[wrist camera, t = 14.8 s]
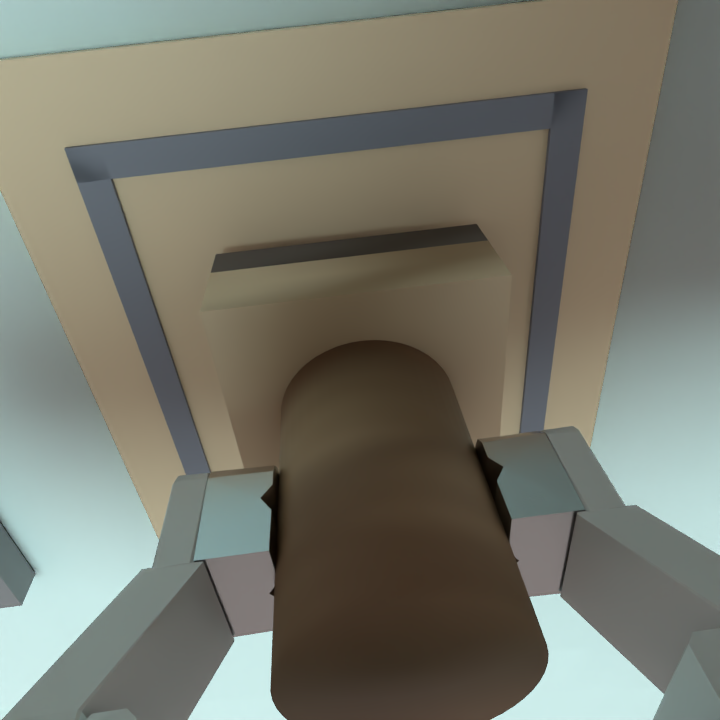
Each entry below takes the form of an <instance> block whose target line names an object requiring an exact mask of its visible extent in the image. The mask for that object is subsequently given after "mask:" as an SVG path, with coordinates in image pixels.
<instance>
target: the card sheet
mask: <svg viewBox="0 0 720 720" xmlns="http://www.w3.org/2000/svg"><path fill="white" fill-rule="evenodd" d="M677 4H678V0H535V1H526V2H516V3H507V4H498V5H489V6H480V7H471V8H462V9H453V10H443V11H434V12H425V13H416V14H407V15H398V16H389V17H379V18H370V19H361V20H352V21H343V22H334V23H325V24H316V25H306V26H297V27H288V28H279V29H270V30H261V31H252V32H243V33H233V34H224V35H215V36H206V37H197V38H188V39H179V40H169V41H160V42H151V43H142V44H133V45H124V46H115V47H106V48H96V49H87V50H78V51H69V52H60V53H51V54H42V55H32V56H23V57H14V58H5V59H0V191H1V193H2V195H3V197H4V199H5V202H6V204H7V206H8V208H9V210H10V213H11V215H12V217H13V219H14V221H15V224H16V226H17V228H18V230H19V232H20V235H21V237H22V239H23V241H24V243H25V246H26V248H27V250H28V252H29V254H30V257H31V259H32V261H33V263H34V265H35V268H36V270H37V272H38V274H39V276H40V279H41V281H42V283H43V285H44V287H45V290H46V292H47V294H48V296H49V299H50V301H51V303H52V305H53V307H54V310H55V312H56V314H57V316H58V318H59V321H60V323H61V325H62V327H63V329H64V332H65V334H66V336H67V338H68V340H69V343H70V345H71V347H72V349H73V351H74V354H75V356H76V358H77V360H78V362H79V365H80V367H81V369H82V371H83V373H84V376H85V378H86V380H87V382H88V384H89V387H90V389H91V391H92V393H93V395H94V398H95V400H96V402H97V404H98V406H99V409H100V411H101V413H102V415H103V417H104V420H105V422H106V424H107V426H108V428H109V431H110V433H111V435H112V437H113V439H114V442H115V444H116V446H117V448H118V450H119V453H120V455H121V457H122V459H123V461H124V464H125V466H126V468H127V470H128V473H129V475H130V477H131V479H132V481H133V484H134V486H135V488H136V490H137V492H138V495H139V497H140V499H141V501H142V503H143V506H144V508H145V510H146V512H147V514H148V517H149V519H150V521H151V523H152V525H153V528H154V530H155V532H156V534H157V536H158V539H159V538H160V534H161V530H162V526H163V522H164V518H165V514H166V510H167V506H168V502H169V497H170V493H171V489H172V485H173V483H174V482H175V480H176V479H177V477H178V476H181V475H192V474H202V473H211V472H214V471H224V470H234V469H244V466H243V463H242V459H241V456H240V452H239V449H238V445H237V442H236V438H235V435H234V431H233V428H232V424H231V421H230V417H229V414H228V410H227V407H226V403H225V400H224V396H223V393H222V389H221V386H220V382H219V379H218V375H217V372H216V368H215V365H214V361H213V358H212V354H211V351H210V347H209V344H208V340H207V337H206V333H205V330H204V326H203V323H202V319H201V316H200V308H201V305H202V301H203V298H204V294H205V291H206V287H207V284H208V280H209V277H210V273H211V270H212V266H213V263H214V259H215V255H216V254H222V253H230V252H239V251H248V250H256V249H265V248H273V247H282V246H291V245H299V244H308V243H316V242H325V241H334V240H342V239H351V238H359V237H368V236H377V235H385V234H394V233H402V232H411V231H420V230H428V229H437V228H445V227H454V226H463V225H471V224H477V225H478V226H479V228H480V229H481V231H482V232H483V234H484V235H485V237H486V238H487V240H488V241H489V242H490V244H491V245H492V247H493V248H494V250H495V251H496V253H497V254H498V256H499V257H500V258H501V260H502V261H503V263H504V264H505V266H506V267H507V269H508V270H509V272H510V273H511V274H512V281H511V294H510V308H509V321H508V334H507V348H506V361H505V374H504V388H503V401H502V414H501V428H500V436H504V435H511V434H519V433H526V432H533V431H541V430H547V429H554V428H561V427H569V426H574V427H575V428H577V429H578V430H579V431H580V432H581V434H582V436H583V437H584V439H585V441H586V442H587V444H588V445H589V447H590V446H591V441H592V435H593V430H594V425H595V420H596V415H597V410H598V405H599V400H600V395H601V390H602V385H603V380H604V375H605V369H606V364H607V359H608V354H609V349H610V344H611V339H612V334H613V329H614V324H615V319H616V314H617V309H618V303H619V298H620V293H621V288H622V283H623V278H624V273H625V268H626V263H627V258H628V253H629V248H630V243H631V237H632V232H633V227H634V222H635V217H636V212H637V207H638V202H639V197H640V192H641V187H642V182H643V177H644V171H645V166H646V161H647V156H648V151H649V146H650V141H651V136H652V131H653V126H654V121H655V116H656V111H657V105H658V100H659V95H660V90H661V85H662V80H663V75H664V70H665V65H666V60H667V55H668V50H669V45H670V39H671V34H672V29H673V24H674V19H675V14H676V9H677Z"/></svg>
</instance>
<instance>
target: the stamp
mask: <svg viewBox="0 0 720 720" xmlns="http://www.w3.org/2000/svg"><path fill="white" fill-rule="evenodd" d="M511 281H512V274H511V273H510V272H509V270H508V269H507V267H506V266H505V264H504V263H503V261H502V260H501V258H500V257H499V256H498V254H497V253H496V251H495V250H494V248H493V247H492V245H491V244H490V242H489V241H488V240H487V238H486V237H485V235H484V234H483V232H482V231H481V229H480V228H479V226H478V225H477V224H471V225H463V226H454V227H445V228H437V229H428V230H420V231H411V232H402V233H394V234H385V235H377V236H368V237H359V238H351V239H342V240H334V241H325V242H316V243H308V244H299V245H291V246H282V247H273V248H265V249H256V250H248V251H239V252H230V253H222V254H216V255H215V259H214V263H213V266H212V270H211V273H210V277H209V280H208V284H207V287H206V291H205V294H204V298H203V301H202V305H201V308H200V316H201V319H202V323H203V326H204V330H205V333H206V337H207V340H208V344H209V347H210V351H211V354H212V358H213V361H214V365H215V368H216V372H217V375H218V379H219V382H220V386H221V389H222V393H223V396H224V400H225V403H226V407H227V410H228V414H229V417H230V421H231V424H232V428H233V431H234V435H235V438H236V442H237V445H238V449H239V452H240V456H241V459H242V463H243V466H244V468H253V467H263V466H273V465H275V466H276V467H277V468H278V472H279V502H278V511H277V555H276V575H275V587H274V613H273V640H272V666H271V696H272V700H273V702H274V704H275V706H276V708H277V709H278V711H279V712H280V713H281V714H282V715H283V716H284V717H285V718H286V719H287V720H491V719H492V718H494V717H496V716H498V715H500V714H502V713H504V712H505V711H507V710H508V709H510V708H512V707H513V706H515V705H516V704H517V703H519V702H520V701H521V700H523V699H524V698H525V697H526V696H527V695H528V694H529V693H530V692H531V691H532V690H533V689H534V688H535V687H536V685H537V684H538V683H539V682H540V680H541V678H542V676H543V675H544V673H545V670H546V667H547V664H548V649H547V644H546V641H545V639H544V636H543V633H542V630H541V628H540V625H539V622H538V619H537V617H536V614H535V611H534V608H533V606H532V603H531V600H530V598H529V595H528V592H527V589H526V587H525V584H524V581H523V578H522V576H521V573H520V570H519V567H518V565H517V562H516V559H515V556H514V554H513V551H512V548H511V546H510V543H509V541H508V538H507V535H506V533H505V530H504V527H503V524H502V522H501V519H500V516H499V514H498V511H497V508H496V505H495V502H494V499H493V496H492V494H491V491H490V488H489V485H488V483H487V481H486V478H485V475H484V472H483V470H482V467H481V464H480V461H479V459H478V456H477V453H476V450H475V445H476V442H477V439H482V438H489V437H497V436H500V428H501V414H502V401H503V388H504V374H505V361H506V348H507V334H508V321H509V308H510V294H511Z"/></svg>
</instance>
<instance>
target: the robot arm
mask: <svg viewBox="0 0 720 720" xmlns="http://www.w3.org/2000/svg"><path fill="white" fill-rule="evenodd" d="M475 450H476V453H477V456H478V459H479V461H480V464H481V467H482V470H483V472H484V475H485V478H486V481H487V483H488V485H489V488H490V491H491V494H492V496H493V499H494V502H495V505H496V508H497V511H498V514H499V516H500V519H501V522H502V524H503V527H504V530H505V533H506V535H507V538H508V541H509V543H510V546H511V548H512V551H513V554H514V556H515V559H516V562H517V565H518V567H519V570H520V573H521V576H522V578H523V581H524V584H525V587H526V589H527V592H528V595H529V597H531V596H540V595H549V594H559V593H561V595H560V596H561V597H562V598H563V599H564V600H565V601H566V602H567V603H568V604H569V605H570V606H571V607H572V608H573V609H574V610H576V611H577V612H578V613H579V614H580V615H581V616H582V617H583V618H584V619H585V620H586V621H587V622H588V623H589V624H590V625H591V626H592V627H594V628H595V629H596V630H597V631H598V632H599V633H600V634H601V635H602V636H603V637H604V638H605V639H606V640H607V641H608V642H609V643H611V644H612V645H613V646H614V647H615V648H616V649H617V650H618V651H619V652H620V653H621V654H622V655H623V656H624V657H625V658H626V659H628V660H629V661H630V662H631V663H632V664H633V665H634V666H635V667H636V668H637V669H638V670H639V671H640V672H641V673H642V674H643V675H644V676H646V677H647V678H648V679H649V680H650V681H651V682H652V683H653V684H654V685H655V686H656V687H657V688H658V689H659V690H660V691H661V692H663V693H664V696H663V699H662V701H661V703H660V705H659V707H658V710H657V712H656V714H655V716H654V718H653V720H720V555H718V554H716V553H715V552H713V551H711V550H710V549H708V548H706V547H705V546H703V545H702V544H700V543H698V542H697V541H695V540H693V539H692V538H690V537H688V536H687V535H685V534H683V533H682V532H680V531H678V530H677V529H675V528H673V527H672V526H670V525H668V524H667V523H665V522H663V521H662V520H660V519H658V518H657V517H655V516H653V515H652V514H650V513H648V512H647V511H645V510H644V509H642V508H640V507H639V506H637V505H630V506H625V504H624V502H623V501H622V499H621V497H620V496H619V494H618V493H617V491H616V489H615V488H614V486H613V484H612V483H611V481H610V480H609V478H608V476H607V475H606V473H605V471H604V470H603V468H602V467H601V465H600V463H599V462H598V460H597V458H596V457H595V455H594V454H593V452H592V450H591V449H590V447H589V445H588V444H587V442H586V441H585V439H584V437H583V436H582V434H581V432H580V431H579V430H578V429H577V428H575V427H574V426H569V427H561V428H554V429H547V430H541V431H533V432H526V433H519V434H511V435H504V436H497V437H489V438H482V439H477V442H476V445H475ZM278 502H279V472H278V468H277V467H276V466H275V465H273V466H263V467H253V468H244V469H234V470H224V471H214V472H211V473H202V474H192V475H181V476H178V477H177V479H176V480H175V482H174V483H173V485H172V489H171V493H170V497H169V502H168V506H167V510H166V514H165V518H164V522H163V526H162V530H161V534H160V538H159V542H158V547H157V551H156V555H155V559H154V563H153V567H152V568H147V569H142V570H141V571H140V572H139V573H138V574H137V575H136V576H135V577H134V578H133V579H132V581H131V582H130V583H129V584H128V585H127V586H126V587H125V588H124V589H123V590H122V591H121V592H120V593H119V594H118V596H117V597H116V598H115V599H114V600H113V601H112V602H111V603H110V604H109V605H108V606H107V607H106V608H105V610H104V611H103V612H102V613H101V614H100V615H99V616H98V617H97V618H96V619H95V620H94V621H93V622H92V623H91V625H90V626H89V627H88V628H87V629H86V630H85V631H84V632H83V633H82V634H81V635H80V636H79V637H78V638H77V640H76V641H75V642H74V643H73V644H72V645H71V646H70V647H69V648H68V649H67V650H66V651H65V652H64V653H63V655H62V656H61V657H60V658H59V659H58V660H57V661H56V662H55V663H54V664H53V665H52V666H51V667H50V669H49V670H48V671H47V672H46V673H45V674H44V675H43V676H42V677H41V678H40V679H39V680H38V681H37V682H36V684H35V685H34V686H33V687H32V688H31V689H30V690H29V691H28V692H27V693H26V694H25V695H24V696H23V697H22V699H21V700H20V701H19V702H18V703H17V704H16V705H15V706H14V707H13V708H12V709H11V710H10V711H9V713H8V714H7V715H6V716H5V717H4V718H3V719H2V720H188V718H189V716H190V715H191V713H192V711H193V709H194V708H195V706H196V704H197V703H198V701H199V699H200V698H201V696H202V694H203V693H204V691H205V689H206V688H207V686H208V684H209V683H210V681H211V679H212V678H213V676H214V674H215V673H216V671H217V669H218V668H219V666H220V664H221V663H222V661H223V659H224V657H225V656H226V654H227V652H228V651H229V649H230V647H231V646H232V644H233V642H234V638H233V637H237V636H243V635H249V634H255V633H261V632H268V631H273V613H274V587H275V575H276V555H277V511H278Z"/></svg>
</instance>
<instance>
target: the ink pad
mask: <svg viewBox="0 0 720 720" xmlns="http://www.w3.org/2000/svg"><path fill="white" fill-rule="evenodd" d="M34 576H35V573H34V571H33V570H32V568H31V567H30V565H29V564H28V563H27V561H26V560H25V558H24V557H23V555H22V554H21V552H20V551H19V549H18V548H17V547H16V545H15V544H14V542H13V541H12V539H11V538H10V536H9V535H8V533H7V532H6V530H5V529H4V528H3V526H2V525H1V523H0V608H5V607H13V606H20V605H22V604H23V601H24V599H25V597H26V594H27V592H28V590H29V587H30V585H31V583H32V580H33V578H34Z"/></svg>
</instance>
